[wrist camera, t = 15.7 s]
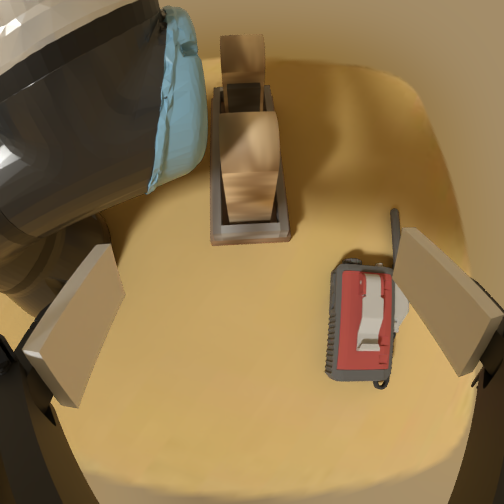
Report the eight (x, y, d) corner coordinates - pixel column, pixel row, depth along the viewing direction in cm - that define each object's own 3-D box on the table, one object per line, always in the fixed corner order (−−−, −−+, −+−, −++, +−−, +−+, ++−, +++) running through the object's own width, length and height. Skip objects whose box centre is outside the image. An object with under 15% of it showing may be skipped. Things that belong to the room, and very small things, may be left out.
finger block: (230, 226, 30) (218, 153, 18) (228, 176, 32) (219, 93, 20) (269, 224, 30) (282, 150, 18) (265, 174, 32) (272, 91, 20)
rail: (212, 245, 31) (186, 175, 18) (212, 106, 37) (201, 21, 23) (288, 241, 31) (316, 169, 18) (271, 103, 37) (278, 18, 24)
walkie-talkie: (396, 386, 27) (397, 214, 33) (415, 391, 23) (413, 198, 29) (320, 388, 27) (329, 204, 33) (331, 395, 23) (339, 186, 29)
